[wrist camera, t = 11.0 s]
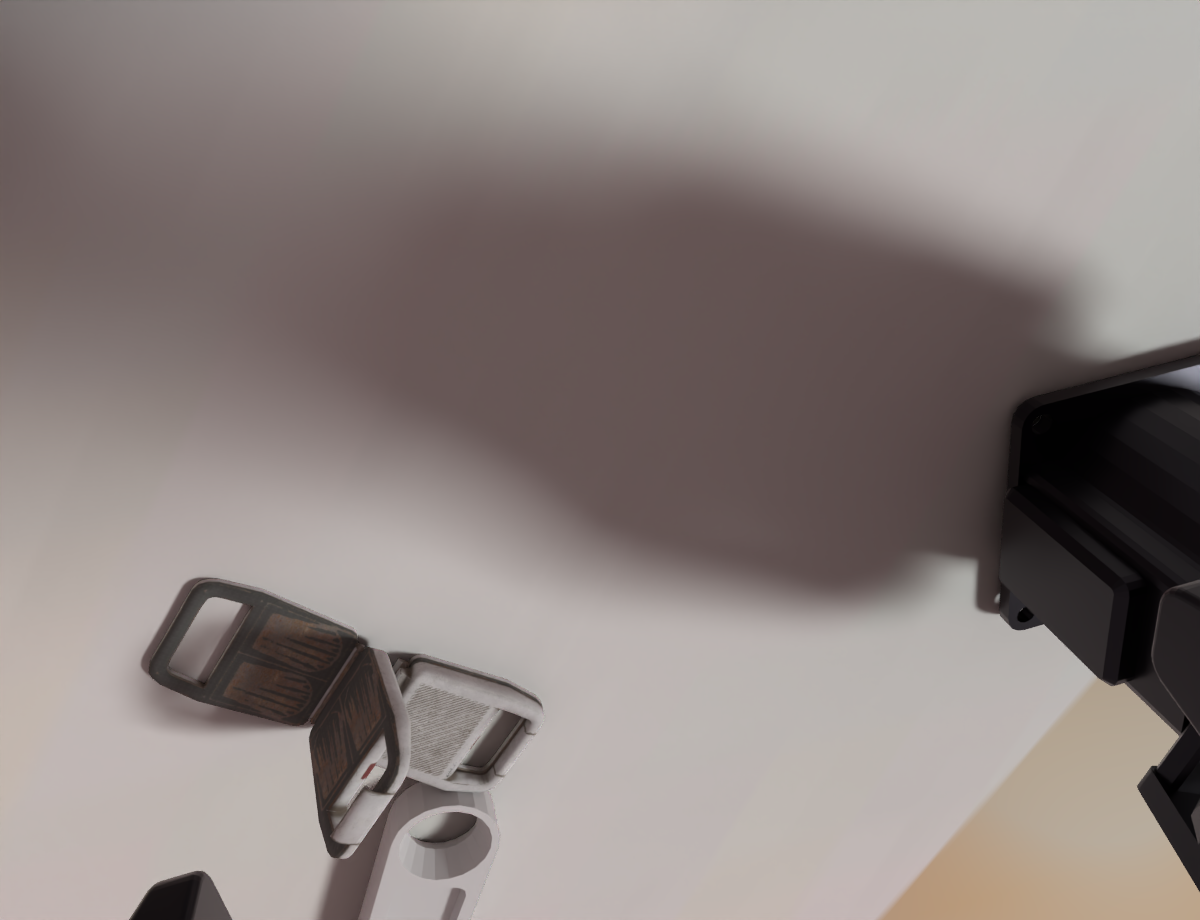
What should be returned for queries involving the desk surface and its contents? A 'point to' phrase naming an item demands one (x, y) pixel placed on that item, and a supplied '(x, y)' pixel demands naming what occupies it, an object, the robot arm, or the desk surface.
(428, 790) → the adjustable wrench
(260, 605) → the strap clip
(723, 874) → the desk surface
